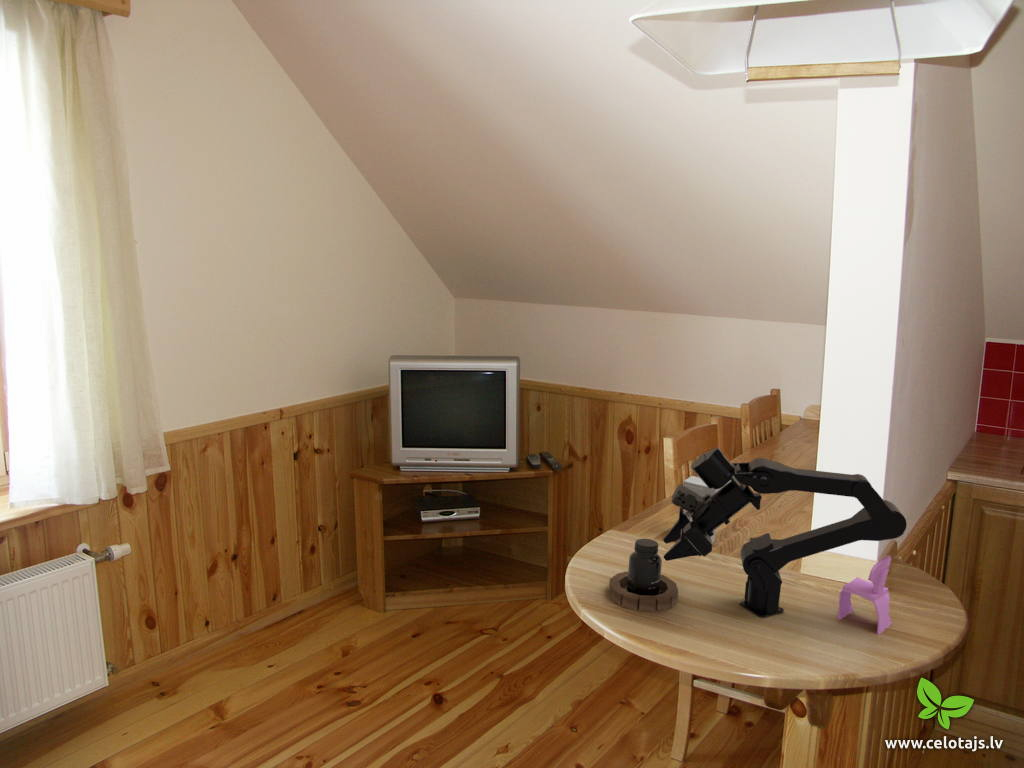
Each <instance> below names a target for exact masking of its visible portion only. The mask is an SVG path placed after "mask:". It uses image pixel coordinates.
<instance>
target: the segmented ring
mask: <svg viewBox="0 0 1024 768" xmlns="http://www.w3.org/2000/svg"><path fill="white" fill-rule="evenodd" d="M627 580H628V570H627V571H623V572H618V573H616V574H614V575H613V576H612V577H611V578H609V585H608V586H609V587H608V594H609V598H610V600H612V602H615V603H616V605H618V606H621V607H622V608H627V609H630V610H633V611H635V612H636V611H638V612H648V613H649V612H652V613H654V612H655V613H656V612H658V613H659V612H662V611H665V610H670V609H671V608H673V607H674V606H675V605H676V604H677V603H678V596H679V588H678V586H677V585H678V584H677V583H676V582H675V581H674V580H672V579H670V578H669V577H667V576H665V575H663V574H661V578H660V590H659V592H662V593H659V595H655V596H645V595H637V594H634V593H630V592H627V589H625V588H627Z"/></svg>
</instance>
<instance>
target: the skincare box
mask: <svg viewBox="0 0 1024 768" xmlns="http://www.w3.org/2000/svg"><path fill="white" fill-rule="evenodd" d="M682 485H683V486H684V487H686V488H688V489H690V490H692V491H694V492H695V493H697V494H698V495H700V496H702V497H704V496H705V495H706V494H708V495H709V494H711V495H713V494H715V493H716V492H717V491H719V490H720V489H721V488H722V487H721V488H720V489H714V488H709V487H708V486H707V485H706V484H705V483H704V482H703V481H702V480H701V478H700V477H699V476H694V475H691V476H689V477H688V478H686V479H684V481H683V484H682ZM716 534H717V529H715V530H714V535H713V536H711V537H710V536H709V535H708V534H707V535H708V536H709V537H710V538H711V540H712V545H713V543H715V540H716ZM677 541H678V540H676V542H677Z"/></svg>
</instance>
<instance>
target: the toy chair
mask: <svg viewBox="0 0 1024 768" xmlns="http://www.w3.org/2000/svg"><path fill="white" fill-rule="evenodd" d="M891 560H892V556H891V555H890V554H888V555H886V556H884V557H882V558H881V559H879V560H878V561H877V562H876V563H875V564H873V566H871V567H872V568H871V570H870V572H869V576H868V578H867V580H868V581H867V580H865V579H862V578H860V577H856V578H854V579H853V580H852V581H849V582H848V583H845V584H843V586H842V590H840V592H839V597H838V598H839V600H838V614H837V620H838V621H841V620H842V619H844V618H845V617H847V616H848V615H849V613H850V612H851V613H853V612H854V609H853V605H852V599H851V597H852V595H857V596H859V597H862V598H863V599H866V600H869V601H870V602H872V603H873V604H874V606H875V610H876V611H875V612H876V614H877V615H876V616H877V630H876V635H877V634H878V635H877V636H880V635H881V634H883V633H884V632H885V631H886V630H885V629H886V628H887V627H889V626H890V625H891V624H892V625H893V623H892V621H891V616H890V600H891V599H890V597H891V596H890V593H889V587H886V586H885V584H886V581H887V578H888V573H889V571H890V568H889V567H890V565H891V562H892V561H891ZM852 611H853V612H852ZM851 613H850V614H851ZM847 614H848V615H847ZM846 615H847V616H846ZM844 616H845V617H844ZM843 617H844V618H843ZM840 619H841V620H840ZM889 628H890V627H889ZM884 630H885V631H884ZM883 631H884V632H883ZM882 632H883V633H882ZM880 633H881V634H880ZM879 634H880V635H879Z"/></svg>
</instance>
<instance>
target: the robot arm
mask: <svg viewBox="0 0 1024 768" xmlns="http://www.w3.org/2000/svg"><path fill="white" fill-rule="evenodd" d="M690 469H692V471H693V472H694V473H695V474H696V475H697V477H699V478H701V480H702V481H703V482H704V483H705V484H706V485H707V486H708V487H709V488H714V489H720V488H721V487H722V488H721V489H720V490H719V491H717V492H716V493H715V494H713V495H711V494H709V495H708V494H706V495H705V496H704V497H702V496H700V495H698V494H697V493H695V492H694V491H692V490H690V489H688V488H686V487H684V486H683V485H684V484H678V485H677V487H676V488H675V490H674V492H673V494H672V495H671V503H672V505H674V506H676V507H679V509H678V511H679V512H678V519H677V520H676V522H675V523H674V524H673V526H672V527H671V528H670V530H669V531H668V533H666V534H665V536H664V538H662V541H663V542H664V543H665V544H670V543H673V542H674V544H673V545H672V546H671V548H669V549H668V550H667V552H666V553H665V554H664V555H663V559H664V560H665V561H666V562H668V561H672V560H678V559H683V558H688V557H689V558H690V557H696V556H699V557H701V556H703V557H706V556H708V555H709V554H710V553H712V551H713V544H712V540H711V538H710V537H711V536H713V535H714V530H715V529H716V530H717V529H718V528H719V527H720V526H722V525H723V524H725V525H726V526H727V525H728V524H729V523H731V520H730V519H731V518H732V517H734V516H735V515H737V514H738V513H739V512H740V511H741V510H743V509H744V508H745V507H747V506H748V505H749V504H751V505H752V506H753V507H754V508H755V510H757V511H759V510H760V509H761V501H762V495H763V494H764V495H765V494H766V495H767V494H769V495H770V494H781V493H786V492H791V491H793V492H803V493H804V492H807V493H813V494H814V493H817V494H822V495H833V496H841V497H849V498H850V497H851V498H855V499H856V500H857V501H858V502H859V503H860V505H862V507H863V508H861V509H860V510H859V511H858V512H856V513H855V514H854V515H853V516H851V517H849V518H846V519H843V520H839V521H836V522H833V523H830V524H827V525H824V526H821V527H817V528H814V529H811V530H809V531H805V532H802V533H799V534H795V535H793V536H788V537H786V538H782V539H775V538H771V534H770V533H769V532H768V533H764V534H763V535H760V536H757V537H750V538H749V541H747V542H745V543H744V544H743V546H742V548H741V549H740V553H739V555H740V559H741V565H742V568H743V572H744V573H745V575H747V578H746V579H747V580H746V581H745V589H744V601H743V600H742V601H740V602H739V606H741V607H742V608H744V609H746V610H747V611H749V612H751V613H752V614H754V615H756V616H757V617H759V618H766V617H769V616H772V615H776V614H780V613H784V611H785V609H784V607H781V606H780V598H781V597H780V596H781V589H782V584H783V580H782V577H781V574H780V570H781V569H783V568H784V567H785V566H786V565H787V564H789V563H790V562H793V561H796V560H801V559H803V558H806V557H810V556H814V555H817V554H819V553H823V552H826V551H829V550H833V549H836V548H839V547H843V546H847V545H850V544H852V543H856V542H860V541H871V542H880V541H881V542H882V541H889V540H894V539H899V538H900V537H901V536H903V535H904V534H905V533H904V532H905V531H906V529H907V525H908V523H907V519H906V518H905V516H904V515H903V513H902V511H901V510H900V509H898V507H897V505H895V504H894V503H893V502H892V501H888V500H886V499H884V498H883V497H881V495H880V494H879V493H878V491H876V489H875V488H874V487H873V486H872V484H871V483H870V481H869V480H868V479H867V477H866V476H864V475H863V474H860V473H855V474H849V473H840V472H832V471H822V470H814V469H813V470H811V469H803V468H795V467H792V466H789V465H786V464H783V463H781V462H780V461H779V462H778V461H775V460H772V459H768V458H765V457H764V458H763V457H758V458H754V459H753V460H751V461H750V462H732V463H731V461H730V460H729V459H728V458H727V456H725V455H724V453H723V451H722V450H721V448H720V447H719V446H716V447H714V448H713V449H710V450H708V451H706V452H705V453H704V452H703V453H702V454H701V455H699V456H698V457H697V458H696V459H695V460H694V461H692V464H691V465H690ZM734 477H735V478H734ZM730 480H731V481H730ZM729 481H730V482H729ZM728 482H729V483H728ZM727 483H728V484H727ZM724 485H725V486H724ZM723 486H724V487H723ZM707 534H708V535H709V536H710V537H709V536H708V535H707ZM677 540H678V541H677ZM675 541H676V542H675Z"/></svg>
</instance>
